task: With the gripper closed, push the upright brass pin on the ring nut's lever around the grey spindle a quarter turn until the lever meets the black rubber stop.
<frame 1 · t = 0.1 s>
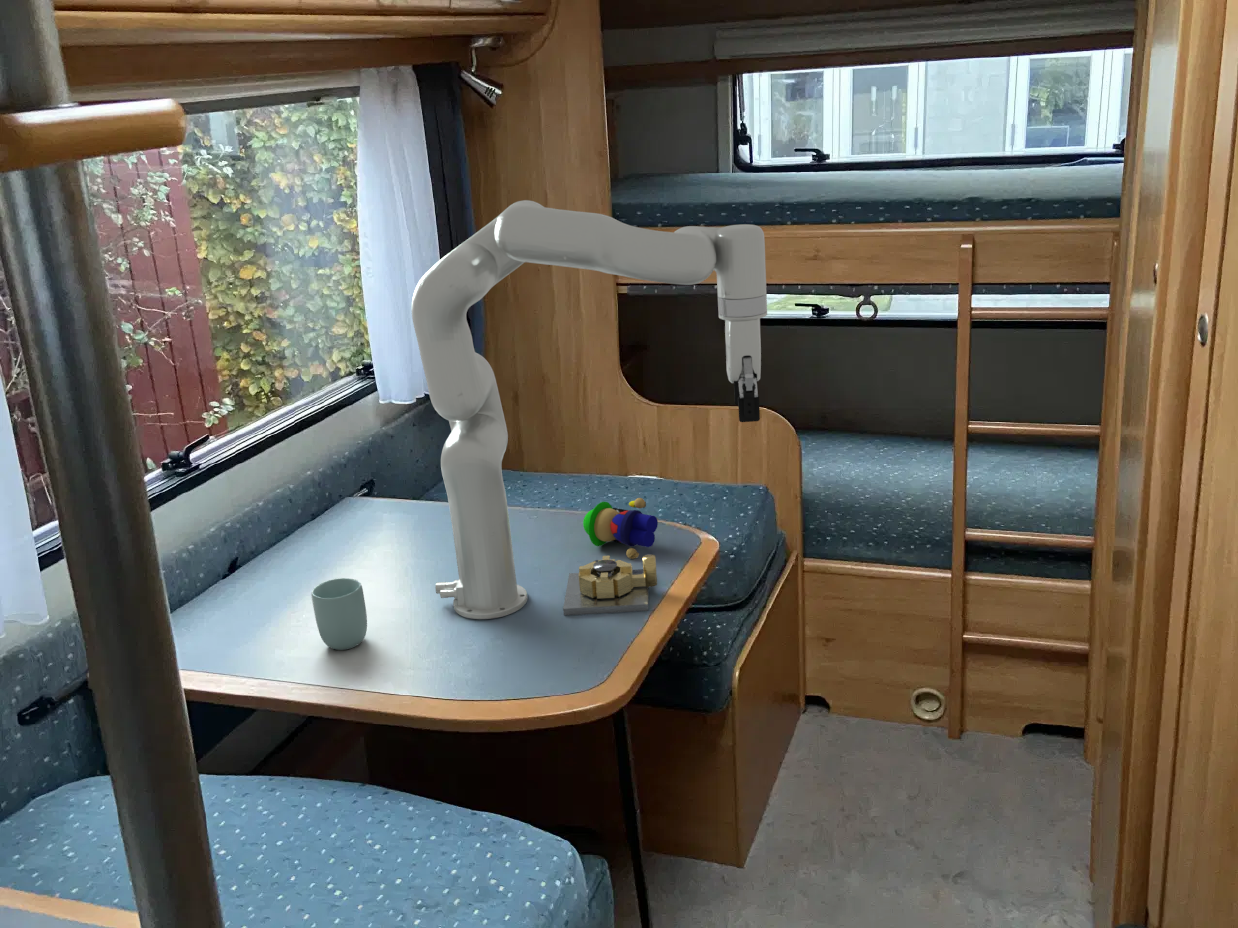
hand: (747, 412, 179), 31 cm above the table, fingers open, 9 cm apart
toy: (621, 548, 211), on the table
ring nut: (617, 572, 190), point 4 cm above the table, hinge at 0.0°
base plate: (607, 594, 192), on the table
cup: (346, 645, 182), on the table
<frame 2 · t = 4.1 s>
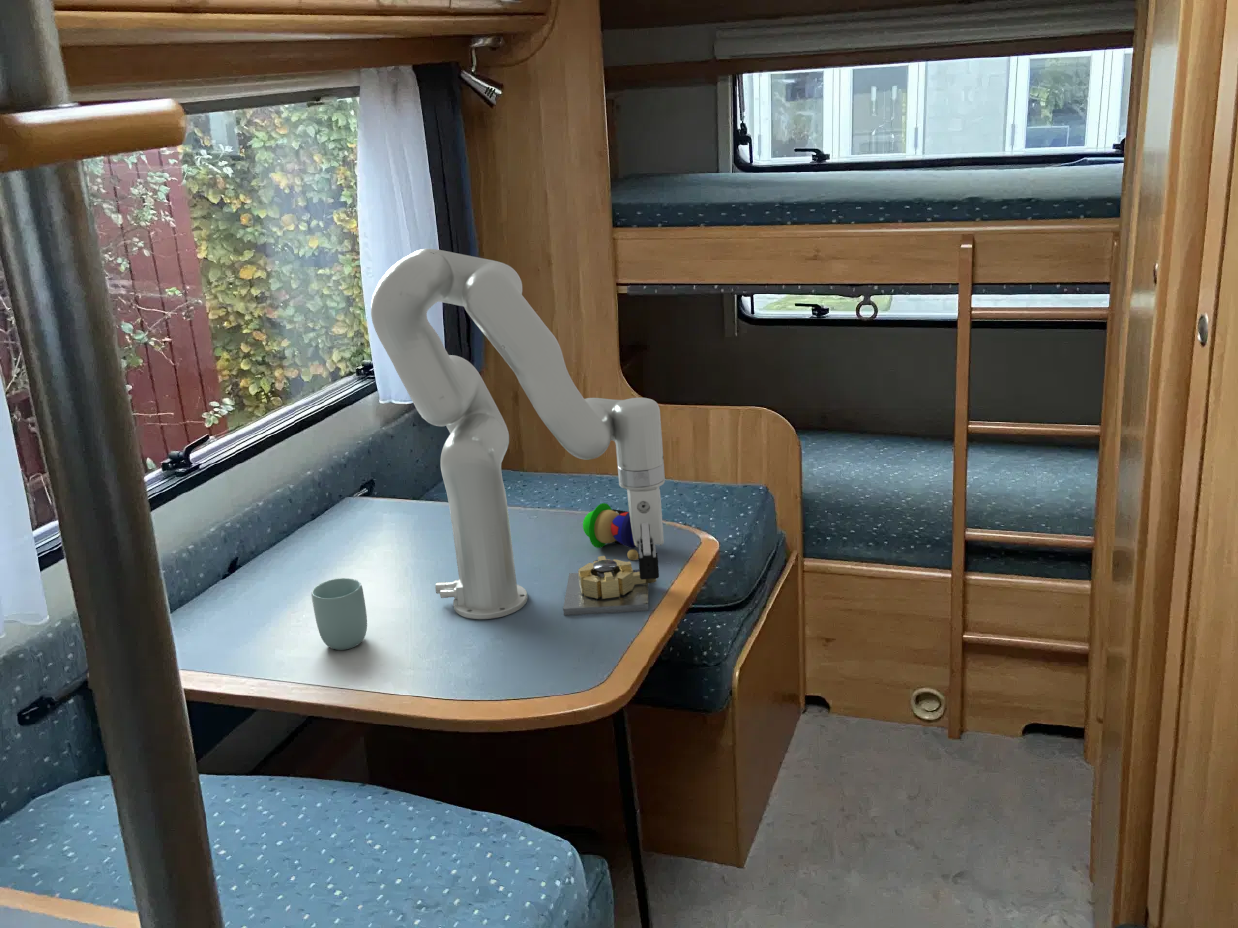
hand: (649, 576, 188), 4 cm above the table, fingers closed
ring nut: (617, 571, 191), point 4 cm above the table, hinge at 11.2°, touching gripper
everything else where it was.
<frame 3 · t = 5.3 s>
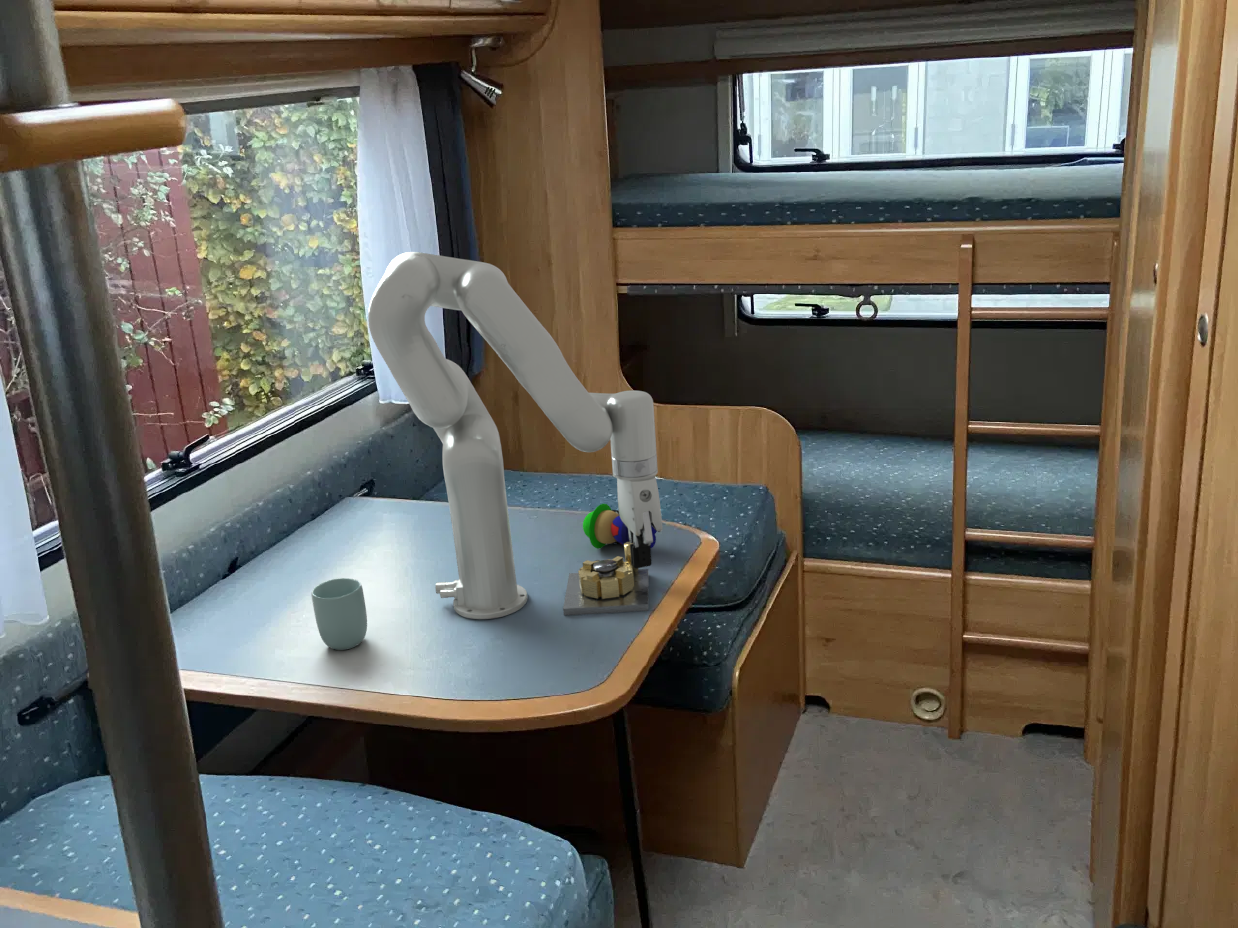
hand: (641, 565, 194), 4 cm above the table, fingers closed
ring nut: (612, 568, 192), point 4 cm above the table, hinge at 55.7°, touching gripper
everything else where it was.
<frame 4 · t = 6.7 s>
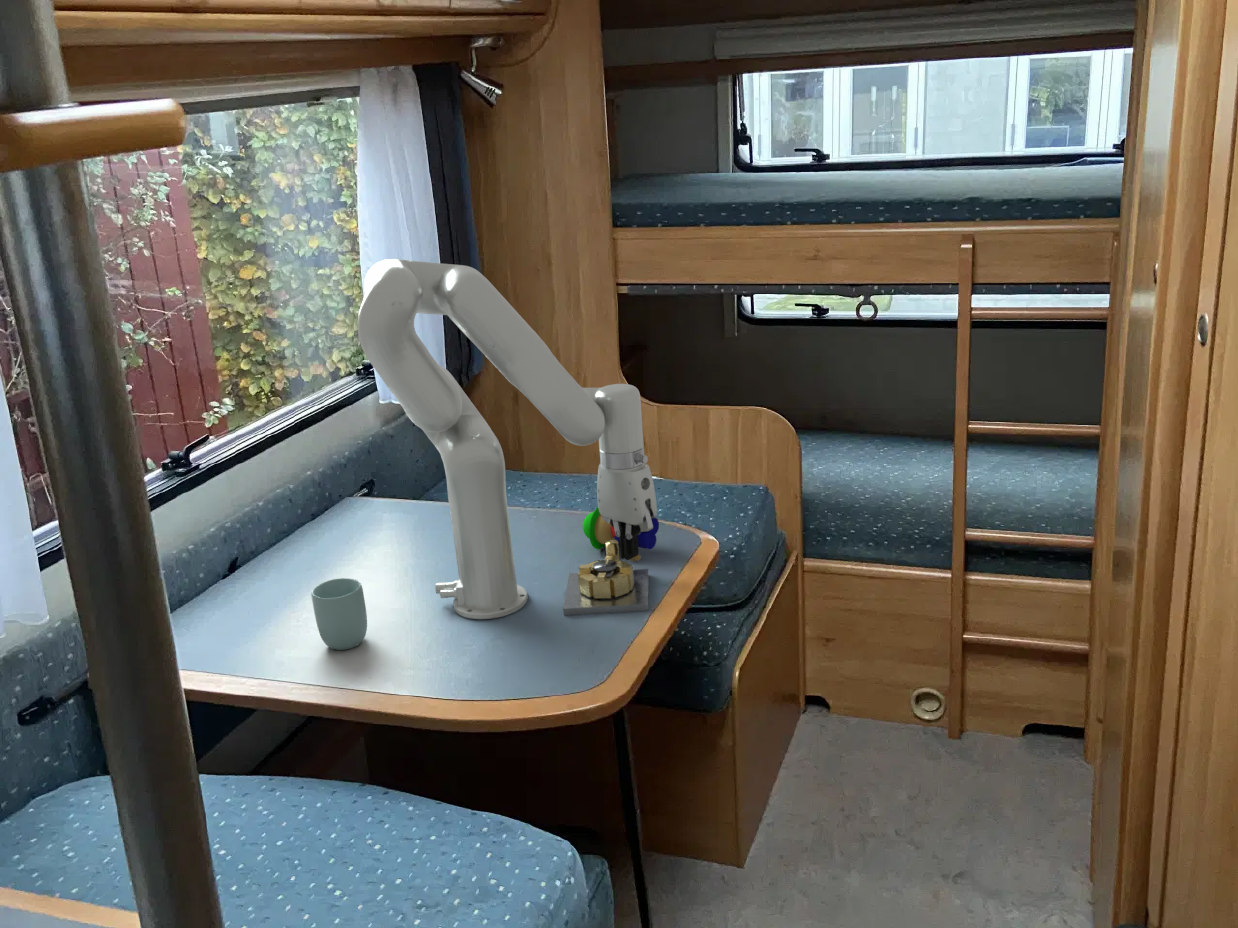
hand: (629, 556, 196), 4 cm above the table, fingers closed
ring nut: (607, 568, 192), point 4 cm above the table, hinge at 82.8°, touching gripper
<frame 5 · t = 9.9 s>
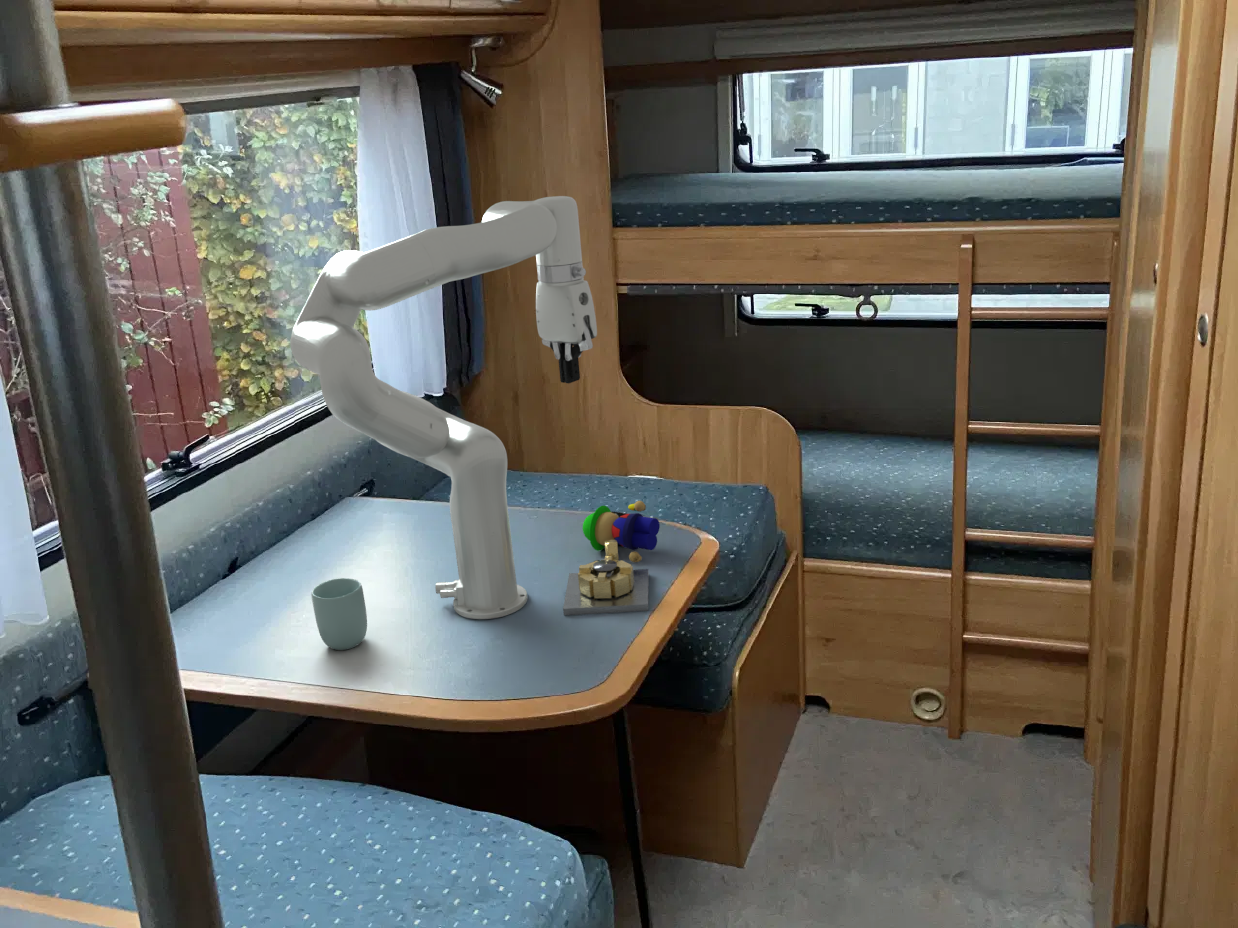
hand: (570, 381, 191), 35 cm above the table, fingers closed
ring nut: (607, 568, 192), point 4 cm above the table, hinge at 83.8°
at the end: ring nut at +84° (first picture: +0°); the gripper is holding nothing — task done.
